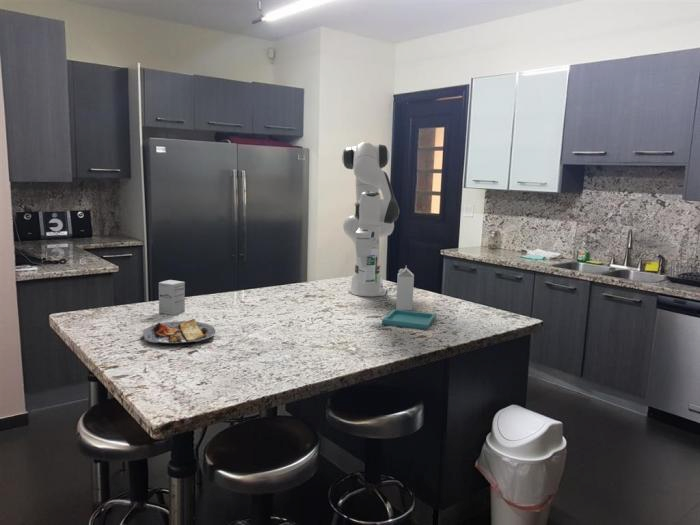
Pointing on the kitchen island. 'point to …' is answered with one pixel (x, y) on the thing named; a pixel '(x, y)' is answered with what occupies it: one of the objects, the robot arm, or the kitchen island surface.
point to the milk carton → (404, 290)
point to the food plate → (186, 330)
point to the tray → (409, 319)
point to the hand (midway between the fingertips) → (367, 265)
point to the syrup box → (369, 268)
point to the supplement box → (171, 297)
